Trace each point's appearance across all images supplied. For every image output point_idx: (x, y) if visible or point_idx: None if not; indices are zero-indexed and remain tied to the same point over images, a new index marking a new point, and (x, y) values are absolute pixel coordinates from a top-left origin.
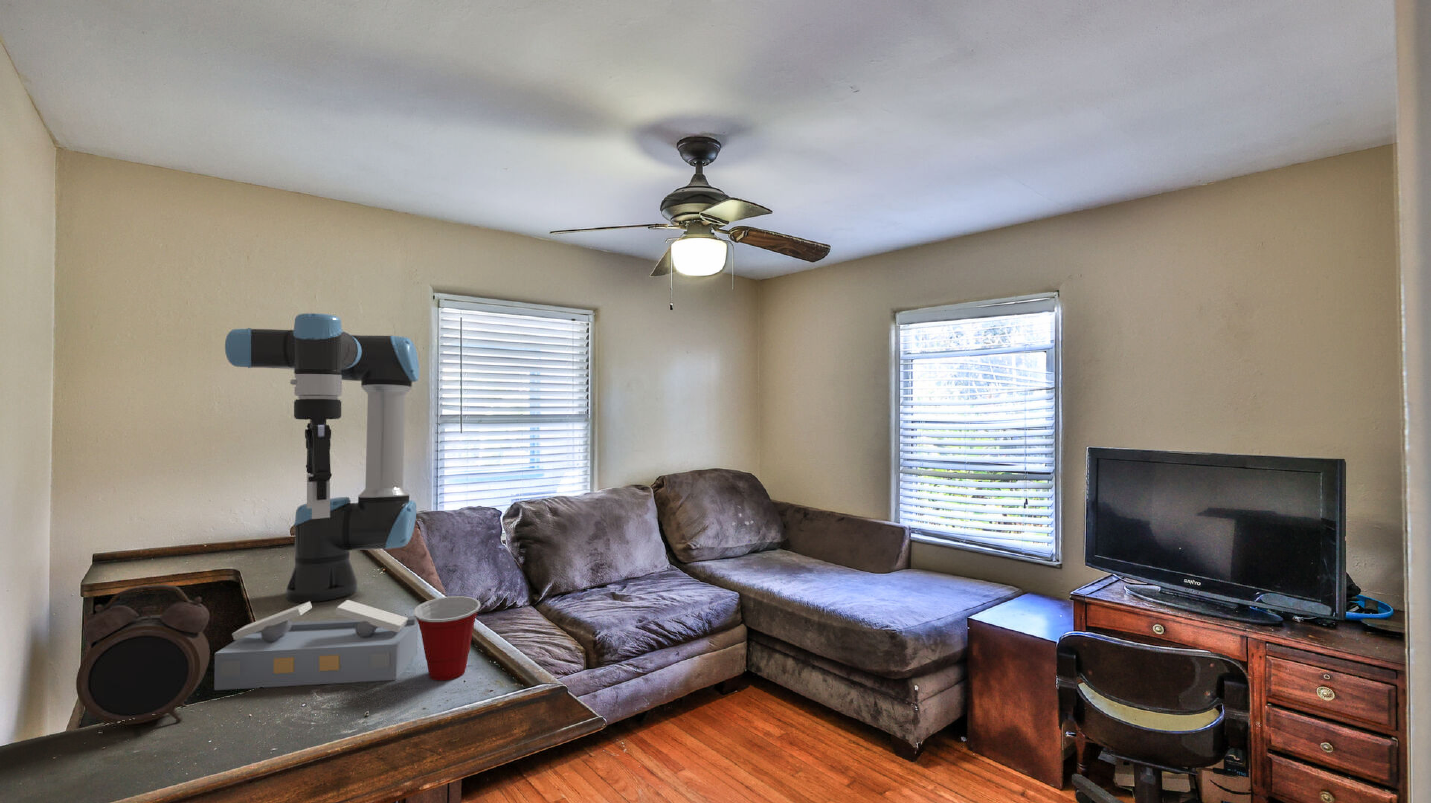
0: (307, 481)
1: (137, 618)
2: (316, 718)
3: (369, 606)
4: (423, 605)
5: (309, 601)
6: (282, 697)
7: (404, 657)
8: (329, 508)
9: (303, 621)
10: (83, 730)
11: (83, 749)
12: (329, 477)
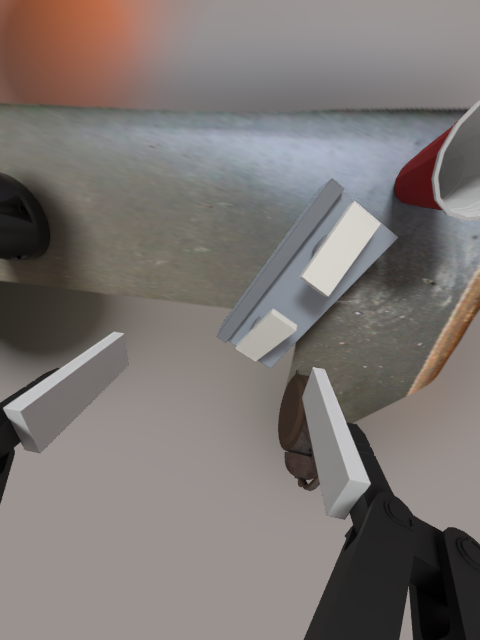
0: (66, 426)
1: (291, 448)
2: (396, 313)
3: (320, 250)
4: (439, 190)
5: (272, 314)
6: (327, 321)
7: None
8: (330, 387)
9: (243, 301)
10: None
11: None
12: (466, 538)
